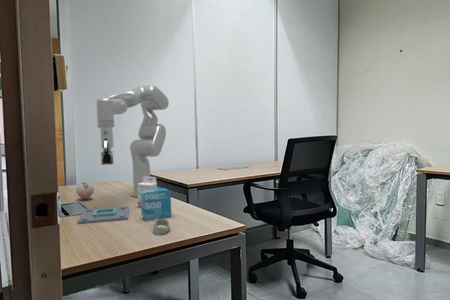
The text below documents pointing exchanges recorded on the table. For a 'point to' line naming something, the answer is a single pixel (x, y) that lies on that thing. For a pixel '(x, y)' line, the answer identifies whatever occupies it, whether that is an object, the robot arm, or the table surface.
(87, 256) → the table surface
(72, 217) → the table surface
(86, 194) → the decorative fruit
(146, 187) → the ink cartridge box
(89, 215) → the baseplate
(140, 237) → the table surface
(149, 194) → the data package
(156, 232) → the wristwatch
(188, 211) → the table surface
